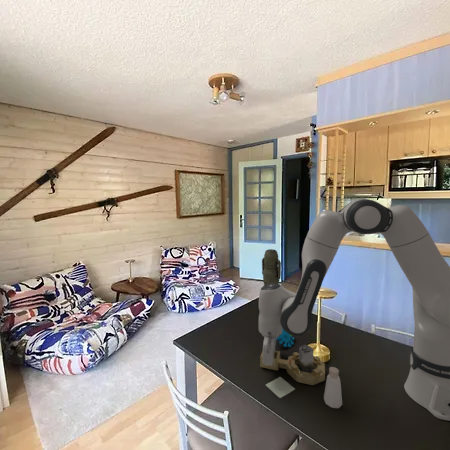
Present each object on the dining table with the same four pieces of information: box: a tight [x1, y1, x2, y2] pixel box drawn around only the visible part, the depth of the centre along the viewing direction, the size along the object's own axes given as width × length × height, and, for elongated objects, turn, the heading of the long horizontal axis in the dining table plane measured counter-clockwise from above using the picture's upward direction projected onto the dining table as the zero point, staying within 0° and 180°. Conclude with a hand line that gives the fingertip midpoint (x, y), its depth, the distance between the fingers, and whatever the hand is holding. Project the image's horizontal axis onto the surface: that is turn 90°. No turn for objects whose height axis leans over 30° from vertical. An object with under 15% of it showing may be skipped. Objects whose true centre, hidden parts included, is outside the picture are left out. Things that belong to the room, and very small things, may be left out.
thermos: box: [261, 248, 282, 286], centre depth 141 cm, size 9×12×35 cm
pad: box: [265, 376, 296, 399], centre depth 87 cm, size 7×7×1 cm
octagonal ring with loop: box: [259, 350, 326, 386], centre depth 95 cm, size 23×13×4 cm, turn 70°
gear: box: [276, 328, 295, 348], centre depth 113 cm, size 11×6×10 cm
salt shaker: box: [323, 366, 343, 409], centre depth 80 cm, size 5×5×11 cm
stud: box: [298, 344, 314, 373], centre depth 93 cm, size 7×7×10 cm
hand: (270, 360), depth 98 cm, fingers closed
